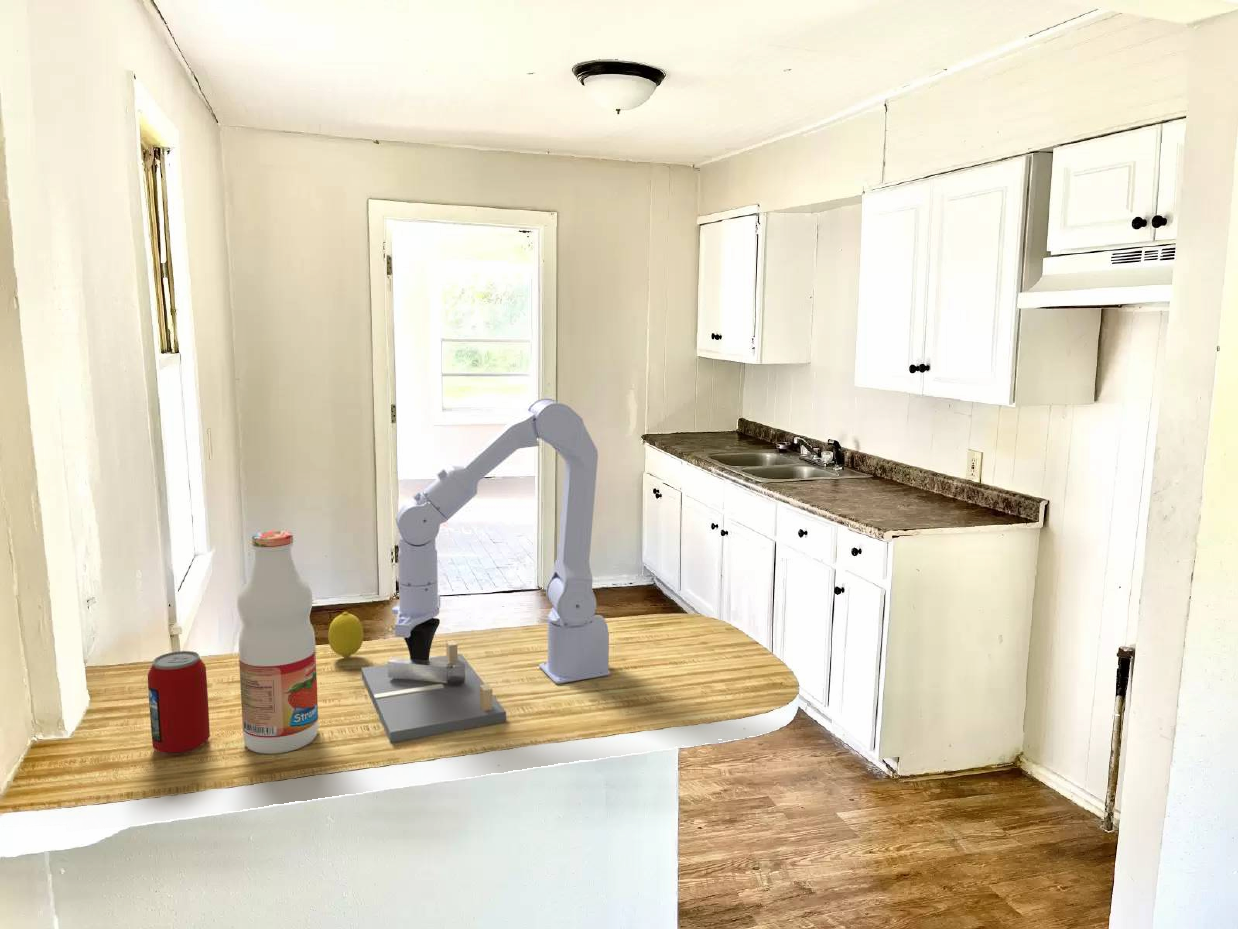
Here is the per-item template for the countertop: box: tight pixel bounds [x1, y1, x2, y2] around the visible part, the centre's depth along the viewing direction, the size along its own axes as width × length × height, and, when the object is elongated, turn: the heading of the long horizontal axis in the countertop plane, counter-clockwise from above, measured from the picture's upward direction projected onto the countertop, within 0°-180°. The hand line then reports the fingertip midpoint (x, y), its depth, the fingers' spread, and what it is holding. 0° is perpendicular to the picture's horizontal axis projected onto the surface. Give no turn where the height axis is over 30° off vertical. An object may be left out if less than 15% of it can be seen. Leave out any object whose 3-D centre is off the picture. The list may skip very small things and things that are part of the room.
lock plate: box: [360, 640, 507, 744], centre depth 128 cm, size 16×24×4 cm, turn 25°
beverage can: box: [147, 650, 211, 756], centre depth 112 cm, size 7×7×12 cm
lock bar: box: [387, 657, 465, 685], centre depth 131 cm, size 12×3×2 cm, turn 80°
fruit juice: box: [236, 530, 319, 755], centre depth 113 cm, size 9×9×28 cm
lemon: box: [327, 611, 364, 659], centre depth 143 cm, size 6×6×8 cm
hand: (419, 666), depth 132 cm, fingers closed, pressing on lock bar
